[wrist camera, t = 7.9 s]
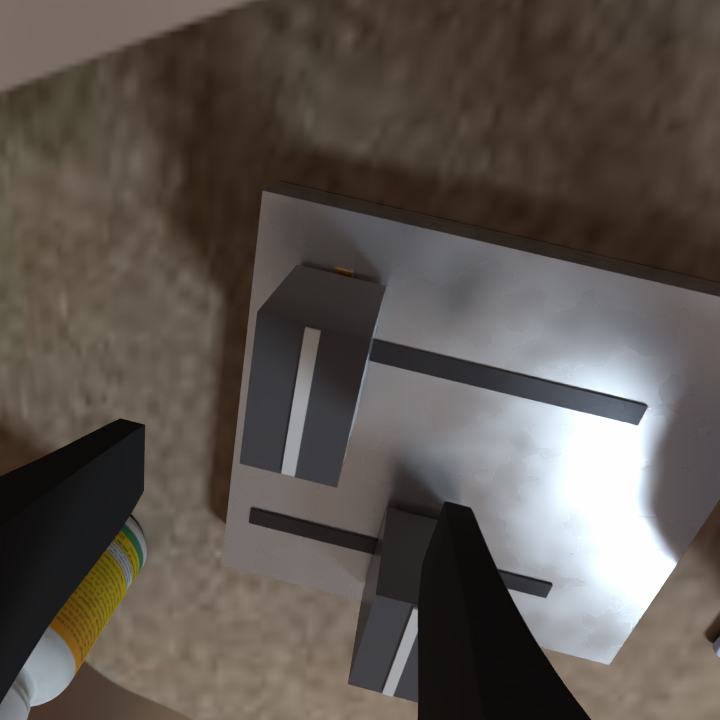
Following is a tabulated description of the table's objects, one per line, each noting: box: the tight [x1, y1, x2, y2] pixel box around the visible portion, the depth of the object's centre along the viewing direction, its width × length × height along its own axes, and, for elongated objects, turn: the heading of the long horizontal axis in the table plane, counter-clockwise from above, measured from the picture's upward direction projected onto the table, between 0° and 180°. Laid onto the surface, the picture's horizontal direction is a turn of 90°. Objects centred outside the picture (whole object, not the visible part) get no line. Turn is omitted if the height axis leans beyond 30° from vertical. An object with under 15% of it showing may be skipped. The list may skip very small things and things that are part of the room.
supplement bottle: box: [0, 516, 147, 720], centre depth 24 cm, size 5×5×10 cm
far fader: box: [348, 508, 438, 702], centre depth 21 cm, size 3×5×4 cm, turn 169°
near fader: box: [239, 265, 386, 488], centre depth 17 cm, size 3×5×4 cm, turn 169°
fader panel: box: [222, 181, 720, 665], centre depth 21 cm, size 18×17×2 cm
